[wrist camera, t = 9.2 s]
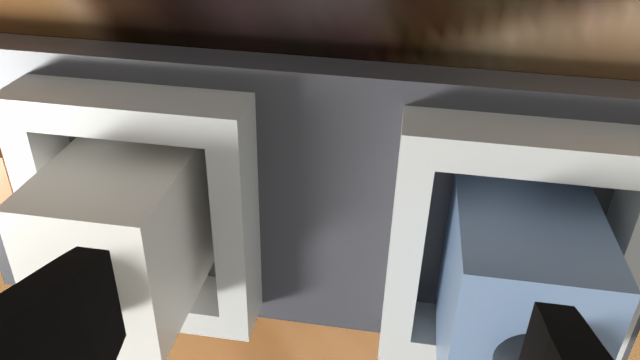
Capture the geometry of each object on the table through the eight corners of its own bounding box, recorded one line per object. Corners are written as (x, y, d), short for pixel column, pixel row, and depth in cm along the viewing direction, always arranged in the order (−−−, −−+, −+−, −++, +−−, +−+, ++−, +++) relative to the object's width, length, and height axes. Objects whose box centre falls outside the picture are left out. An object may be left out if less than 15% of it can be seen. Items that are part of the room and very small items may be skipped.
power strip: (613, 334, 22) (642, 411, 19) (25, 260, 25) (-28, 318, 22) (709, 86, 17) (767, 139, 14) (-43, 29, 20) (-124, 64, 17)
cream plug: (214, 260, 22) (140, 411, 16) (111, 248, 22) (3, 391, 17) (203, 139, 19) (110, 268, 13) (87, 127, 20) (-50, 248, 14)
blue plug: (552, 307, 20) (600, 489, 15) (435, 293, 21) (438, 464, 15) (590, 183, 18) (665, 347, 12) (455, 170, 18) (467, 321, 13)
